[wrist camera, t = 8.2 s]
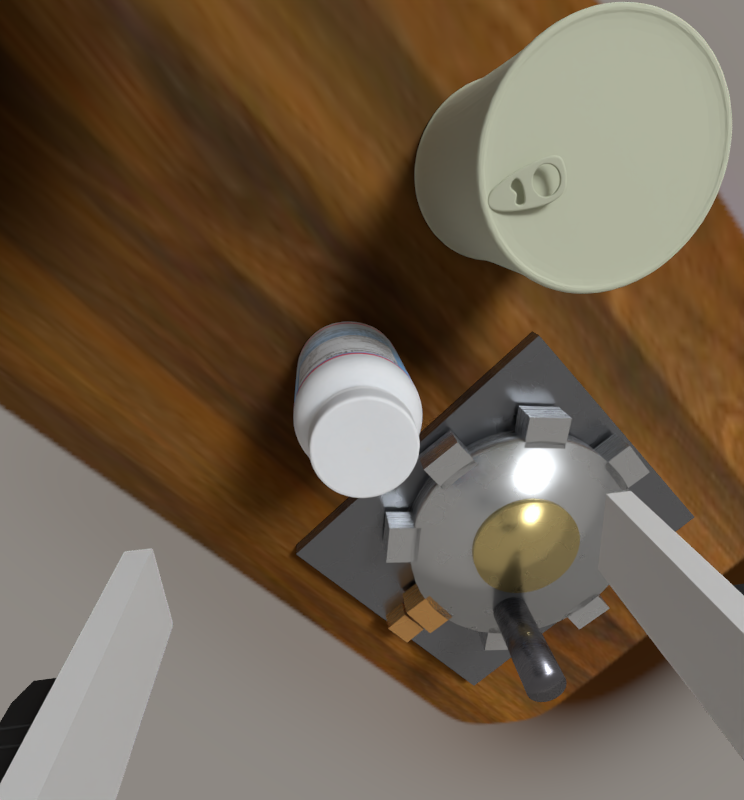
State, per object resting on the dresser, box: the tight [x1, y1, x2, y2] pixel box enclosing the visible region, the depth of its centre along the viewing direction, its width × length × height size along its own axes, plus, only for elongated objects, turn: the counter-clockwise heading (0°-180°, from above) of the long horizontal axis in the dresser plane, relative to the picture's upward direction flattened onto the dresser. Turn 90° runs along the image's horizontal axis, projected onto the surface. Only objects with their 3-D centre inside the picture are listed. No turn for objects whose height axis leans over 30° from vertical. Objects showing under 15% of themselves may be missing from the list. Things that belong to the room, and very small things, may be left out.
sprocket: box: [383, 406, 649, 702], centre depth 32 cm, size 18×18×8 cm
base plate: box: [296, 331, 694, 685], centre depth 36 cm, size 19×21×2 cm
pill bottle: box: [293, 322, 422, 498], centre depth 27 cm, size 6×6×11 cm
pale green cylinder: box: [414, 2, 732, 294], centre depth 23 cm, size 9×9×12 cm
